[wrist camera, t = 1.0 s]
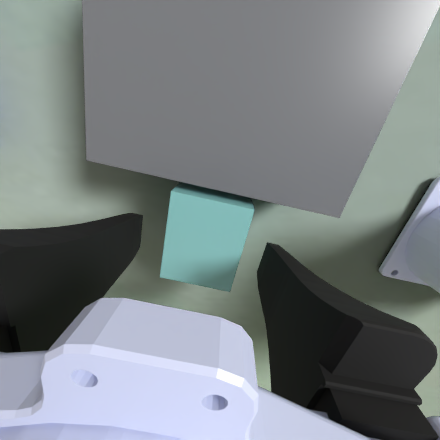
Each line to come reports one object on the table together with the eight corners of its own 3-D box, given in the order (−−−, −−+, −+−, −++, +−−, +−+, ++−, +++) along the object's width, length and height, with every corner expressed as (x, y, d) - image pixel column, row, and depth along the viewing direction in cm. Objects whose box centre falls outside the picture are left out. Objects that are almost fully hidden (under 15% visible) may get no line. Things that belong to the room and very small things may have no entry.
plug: (284, 46, 12) (323, -20, 7) (230, 246, 16) (229, 292, 12) (215, 29, 11) (203, -52, 7) (181, 235, 16) (159, 276, 11)
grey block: (370, 12, 11) (485, -92, 6) (302, 190, 15) (339, 218, 10) (149, -47, 11) (76, -210, 6) (136, 152, 14) (86, 160, 9)
